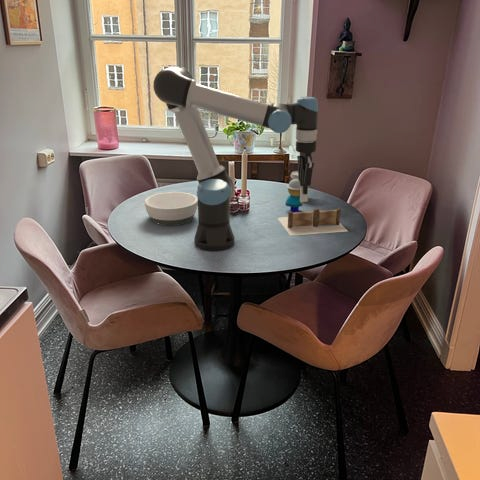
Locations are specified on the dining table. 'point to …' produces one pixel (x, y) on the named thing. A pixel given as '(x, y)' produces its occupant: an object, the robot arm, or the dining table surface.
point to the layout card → (311, 228)
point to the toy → (294, 195)
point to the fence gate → (299, 219)
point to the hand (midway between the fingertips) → (303, 201)
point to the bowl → (171, 207)
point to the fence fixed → (326, 217)
